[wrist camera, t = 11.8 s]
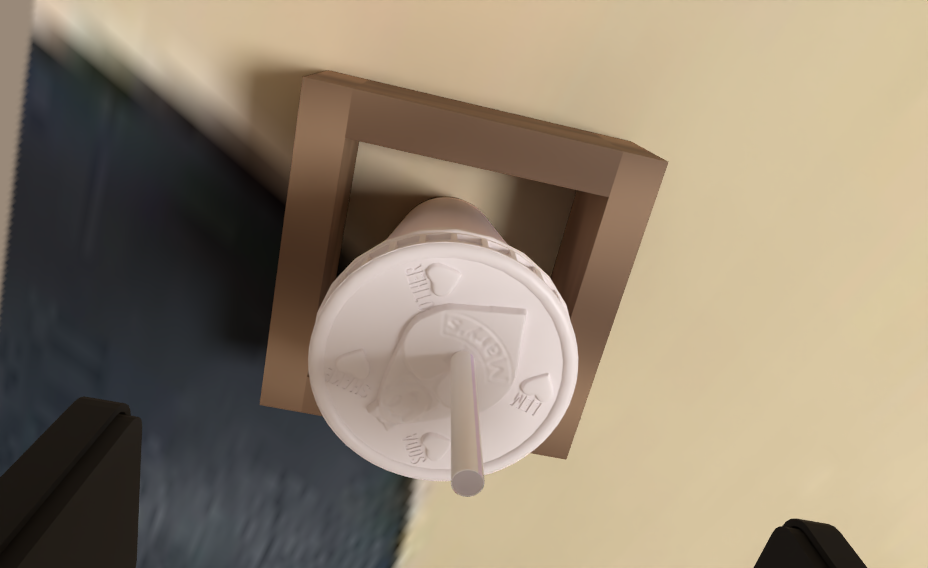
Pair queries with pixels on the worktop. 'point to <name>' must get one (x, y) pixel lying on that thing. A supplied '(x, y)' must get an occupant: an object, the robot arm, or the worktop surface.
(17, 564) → the robot arm
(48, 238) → the worktop surface
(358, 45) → the worktop surface
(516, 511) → the worktop surface
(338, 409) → the smoothie
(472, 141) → the wooden frame
